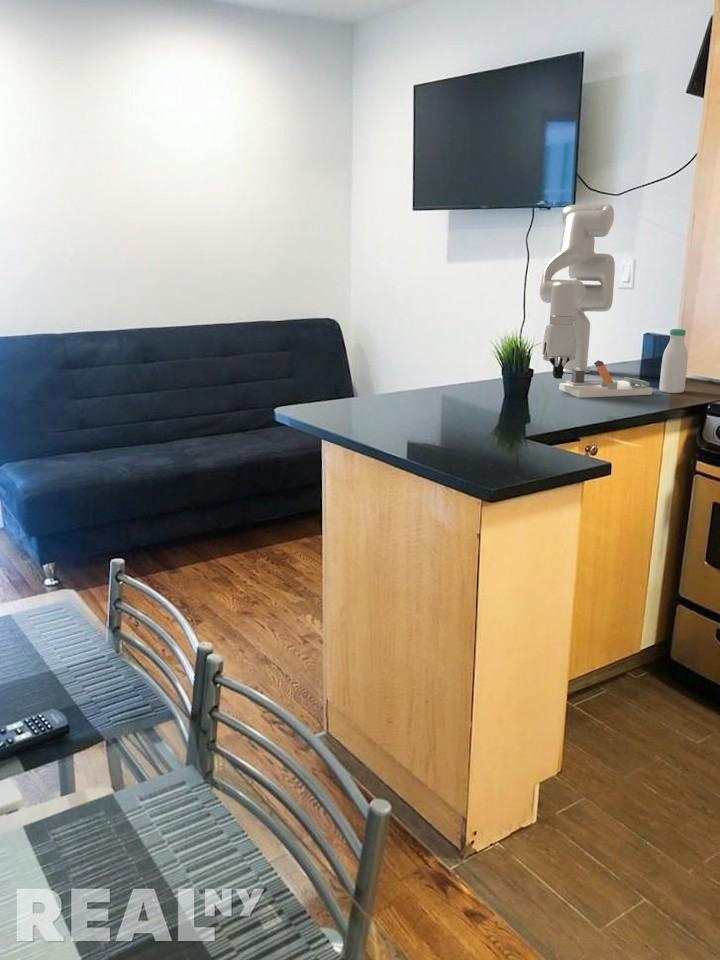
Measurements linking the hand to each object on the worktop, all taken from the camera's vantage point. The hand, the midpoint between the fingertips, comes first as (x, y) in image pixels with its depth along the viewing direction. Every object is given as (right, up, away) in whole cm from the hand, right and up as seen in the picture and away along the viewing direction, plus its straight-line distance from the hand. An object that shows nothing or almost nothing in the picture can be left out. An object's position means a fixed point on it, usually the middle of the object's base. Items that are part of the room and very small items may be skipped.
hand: (557, 378), depth 266 cm
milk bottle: (+37, -5, 0) cm, 37 cm away
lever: (+15, -2, -5) cm, 16 cm away
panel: (+15, -5, 0) cm, 16 cm away
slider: (+7, -2, +2) cm, 8 cm away
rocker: (+24, -2, -4) cm, 25 cm away
